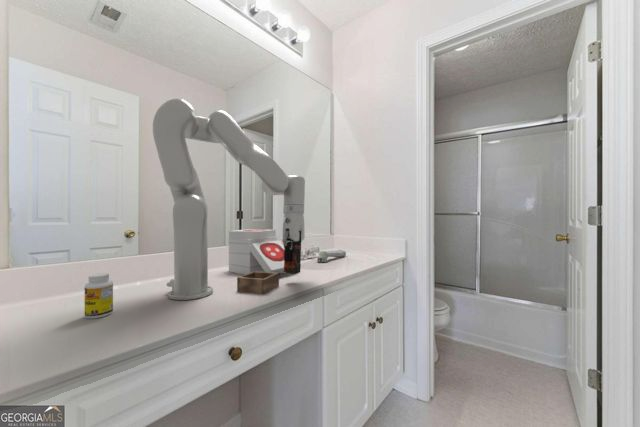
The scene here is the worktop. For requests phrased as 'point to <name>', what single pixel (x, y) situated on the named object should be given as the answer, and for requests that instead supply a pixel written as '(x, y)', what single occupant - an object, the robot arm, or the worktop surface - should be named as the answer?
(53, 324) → the worktop surface
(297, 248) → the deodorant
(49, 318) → the worktop surface
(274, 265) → the white stacked boxes
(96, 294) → the supplement bottle
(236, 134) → the robot arm
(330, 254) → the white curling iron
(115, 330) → the worktop surface
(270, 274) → the holder
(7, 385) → the worktop surface
